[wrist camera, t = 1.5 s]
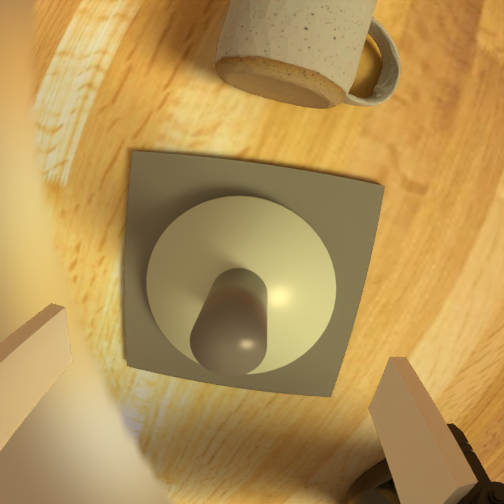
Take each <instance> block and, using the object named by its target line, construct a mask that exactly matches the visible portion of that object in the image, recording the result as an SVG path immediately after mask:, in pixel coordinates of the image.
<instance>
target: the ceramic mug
mask: <svg viewBox="0 0 504 504" xmlns="http://www.w3.org/2000/svg"><path fill="white" fill-rule="evenodd" d="M376 3H377V0H230V4H229V7H228V11H227V14H226V17H225V20H224V23H223V26H222V29H221V32H220V35H219V39H218V43H217V52H216V61H215V65H216V70H217V72H218V74H219V76H220V77H221V78H222V79H223V80H224V81H225V82H227V83H228V84H230V85H232V86H234V87H236V88H239V89H241V90H244V91H246V92H249V93H252V94H255V95H258V96H262V97H265V98H269V99H272V100H276V101H280V102H284V103H288V104H293V105H297V106H303V107H309V108H318V109H326V108H332V107H334V106H336V105H338V104H340V103H344V104H349V105H354V106H375V105H379V104H381V103H383V102H385V101H386V100H388V99H389V98H390V97H391V96H392V94H393V93H394V91H395V90H396V88H397V85H398V82H399V79H400V74H401V61H400V56H399V52H398V49H397V47H396V45H395V43H394V41H393V39H392V37H391V36H390V34H389V33H388V32H387V30H386V29H385V28H384V27H383V26H382V25H381V24H380V23H379V22H378V21H377V20H376V19H375V18H374V17H373V13H374V9H375V6H376ZM367 34H369V35H370V36H371V37H372V38H373V39H374V41H375V42H376V44H377V46H378V48H379V50H380V53H381V55H382V59H383V60H382V63H383V66H382V70H381V73H380V76H379V79H378V82H377V84H376V86H374V88H373V94H372V95H371V96H369V97H368V98H364V99H363V98H359V97H356V96H354V95H352V94H349V93H348V92H349V90H350V88H351V86H352V85H353V82H354V79H355V77H356V73H357V70H358V66H359V62H360V57H361V53H362V50H363V46H364V43H365V40H366V37H367Z"/></svg>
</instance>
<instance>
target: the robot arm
mask: <svg viewBox="0 0 504 504" xmlns="http://www.w3.org/2000/svg"><path fill="white" fill-rule="evenodd" d="M72 362H73V359H72V353H71V346H70V340H69V334H68V325H67V317H66V309H65V307H63V306H59V305H56V304H52V303H51V304H50V305H48V306H47V307H46V308H44V309H43V310H42V311H41V312H39V313H38V314H37V315H36V316H34V317H33V318H32V319H30V320H29V321H28V322H26V323H25V324H24V325H22V326H21V327H20V328H19V329H17V330H16V331H15V332H14V333H13V334H11V335H10V336H9V337H7V338H6V339H5V340H4V341H3V342H1V343H0V450H1V449H2V448H3V446H4V445H5V444H6V443H7V441H8V440H9V438H10V437H11V436H12V435H13V433H14V432H15V431H16V430H17V428H18V427H19V426H20V425H21V423H22V422H23V421H24V419H25V418H26V417H27V416H28V415H29V413H30V412H31V411H32V410H33V408H34V407H35V406H36V405H37V404H38V402H39V401H40V400H41V399H42V397H43V396H44V395H45V394H46V393H47V391H48V390H49V389H50V388H51V387H52V385H53V384H54V383H55V382H56V381H57V379H58V378H59V377H60V376H61V375H62V374H63V372H64V371H65V370H66V369H67V368H68V367H69V366H70V364H71V363H72ZM369 411H370V414H371V417H372V419H373V422H374V425H375V428H376V431H377V433H378V436H379V439H380V442H381V445H382V448H383V451H384V454H385V457H386V460H385V461H383V462H381V463H379V464H378V465H376V466H375V467H373V468H372V469H370V470H369V471H367V472H366V473H365V474H363V475H362V476H361V477H360V478H359V479H358V480H357V481H356V482H355V483H354V484H353V485H352V486H351V488H350V489H349V491H348V493H347V497H346V502H347V504H504V484H502V483H501V482H495V481H494V482H491V481H490V479H489V477H488V476H487V474H486V472H485V470H484V468H483V467H482V465H481V463H480V461H479V459H478V458H477V456H476V454H475V452H473V449H472V447H471V445H470V444H468V440H467V439H466V437H465V435H464V434H463V432H462V431H461V430H460V429H459V428H457V427H456V426H455V425H454V424H453V423H452V424H446V422H445V420H444V419H443V417H442V415H441V414H440V412H439V410H438V409H437V407H436V405H435V403H434V402H433V400H432V398H431V397H430V395H429V394H428V392H427V390H426V389H425V387H424V385H423V384H422V382H421V380H420V379H419V377H418V376H417V374H416V372H415V371H414V369H413V368H412V366H411V364H410V363H409V361H408V360H407V358H406V357H390V358H389V360H388V363H387V365H386V368H385V370H384V373H383V375H382V378H381V380H380V383H379V385H378V387H377V390H376V392H375V394H374V397H373V399H372V401H371V404H370V406H369Z"/></svg>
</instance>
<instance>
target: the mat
mask: <svg viewBox="0 0 504 504" xmlns="http://www.w3.org/2000/svg"><path fill="white" fill-rule="evenodd" d="M384 187H385V186H382V185H378V184H373V183H368V182H364V181H359V180H354V179H349V178H344V177H338V176H333V175H328V174H322V173H317V172H311V171H305V170H299V169H293V168H287V167H280V166H273V165H267V164H260V163H252V162H245V161H237V160H229V159H220V158H211V157H202V156H192V155H181V154H170V153H157V152H143V151H132V160H131V169H130V179H129V190H128V203H127V218H126V238H125V276H124V299H125V336H126V356H127V366H129V367H133V368H137V369H141V370H146V371H150V372H154V373H159V374H163V375H168V376H173V377H178V378H183V379H188V380H193V381H199V382H204V383H210V384H216V385H222V386H229V387H236V388H243V389H250V390H258V391H266V392H275V393H285V394H295V395H307V396H321V397H331V394H332V392H333V389H334V386H335V383H336V380H337V377H338V374H339V371H340V368H341V365H342V362H343V358H344V355H345V352H346V349H347V345H348V342H349V339H350V335H351V332H352V329H353V325H354V322H355V318H356V314H357V311H358V307H359V303H360V300H361V296H362V292H363V288H364V284H365V280H366V276H367V272H368V267H369V263H370V259H371V254H372V250H373V245H374V240H375V236H376V231H377V226H378V221H379V215H380V210H381V205H382V199H383V193H384ZM235 195H244V196H255V197H260V198H265V199H268V200H271V201H274V202H276V203H279V204H281V205H283V206H285V207H287V208H289V209H290V210H292V211H293V212H295V213H296V214H298V215H299V216H300V217H301V218H303V219H304V220H305V221H306V222H307V223H308V224H309V225H310V226H311V227H312V229H313V230H314V231H315V232H316V233H317V235H318V236H319V237H320V239H321V241H322V242H323V244H324V246H325V247H326V249H327V251H328V253H329V256H330V258H331V260H332V264H333V268H334V272H335V279H336V298H335V304H334V309H333V312H332V315H331V318H330V321H329V323H328V325H327V327H326V329H325V330H324V332H323V334H322V335H321V337H320V338H319V339H318V340H317V342H316V343H315V344H314V345H313V346H312V347H311V348H310V349H309V350H308V351H307V352H306V353H304V354H303V355H302V356H300V357H299V358H297V359H296V360H295V361H293V362H291V363H289V364H287V365H285V366H283V367H280V368H277V369H275V370H271V371H267V372H263V373H256V374H244V375H240V376H222V375H218V374H215V373H213V372H211V371H209V370H207V369H206V368H204V367H203V366H202V365H201V364H199V363H196V362H195V361H193V360H191V359H190V358H188V357H187V356H185V355H184V354H183V353H181V352H180V351H179V350H178V349H177V348H176V347H175V346H173V345H172V344H171V343H170V341H169V340H168V339H167V338H166V337H165V335H164V334H163V333H162V331H161V330H160V328H159V326H158V325H157V323H156V321H155V319H154V316H153V314H152V311H151V308H150V305H149V301H148V296H147V285H146V278H147V269H148V264H149V260H150V257H151V254H152V252H153V249H154V247H155V245H156V243H157V241H158V240H159V238H160V236H161V235H162V234H163V232H164V231H165V230H166V229H167V227H168V226H169V225H170V224H171V223H172V222H173V221H174V220H176V219H177V218H178V217H179V216H181V215H182V214H183V213H185V212H186V211H188V210H190V209H191V208H193V207H195V206H197V205H199V204H201V203H203V202H206V201H209V200H212V199H215V198H220V197H225V196H235Z"/></svg>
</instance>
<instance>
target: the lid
mask: <svg viewBox="0 0 504 504" xmlns="http://www.w3.org/2000/svg"><path fill="white" fill-rule="evenodd" d="M146 285H147V296H148V301H149V305H150V308H151V311H152V314H153V316H154V319H155V321H156V323H157V325H158V326H159V328H160V330H161V331H162V333H163V334H164V335H165V337H166V338H167V339H168V340H169V341H170V343H171V344H172V345H173V346H175V347H176V348H177V349H178V350H179V351H180V352H181V353H183V354H184V355H185V356H187V357H188V358H190V359H191V360H193V361H195V362H196V363H199V364H201V365H202V366H203V367H204V368H206V369H207V370H209V371H211V372H213V373H215V374H218V375H222V376H240V375H244V374H256V373H263V372H267V371H271V370H275V369H277V368H280V367H283V366H285V365H287V364H289V363H291V362H293V361H295V360H296V359H297V358H299V357H300V356H302V355H303V354H304V353H306V352H307V351H308V350H309V349H310V348H311V347H312V346H313V345H314V344H315V343H316V342H317V340H318V339H319V338H320V337H321V335H322V334H323V332H324V330H325V329H326V327H327V325H328V323H329V321H330V318H331V315H332V312H333V309H334V304H335V298H336V279H335V272H334V268H333V264H332V260H331V258H330V256H329V253H328V251H327V249H326V247H325V246H324V244H323V242H322V241H321V239H320V237H319V236H318V235H317V233H316V232H315V231H314V230H313V229H312V227H311V226H310V225H309V224H308V223H307V222H306V221H305V220H304V219H303V218H301V217H300V216H299V215H298V214H296V213H295V212H293V211H292V210H290V209H289V208H287V207H285V206H283V205H281V204H279V203H276V202H274V201H271V200H268V199H265V198H260V197H255V196H244V195H235V196H225V197H220V198H215V199H212V200H209V201H206V202H203V203H201V204H199V205H197V206H195V207H193V208H191V209H190V210H188V211H186V212H185V213H183V214H182V215H181V216H179V217H178V218H177V219H176V220H174V221H173V222H172V223H171V224H170V225H169V226H168V227H167V229H166V230H165V231H164V232H163V234H162V235H161V236H160V238H159V240H158V241H157V243H156V245H155V247H154V249H153V252H152V254H151V257H150V260H149V264H148V269H147V278H146Z"/></svg>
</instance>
